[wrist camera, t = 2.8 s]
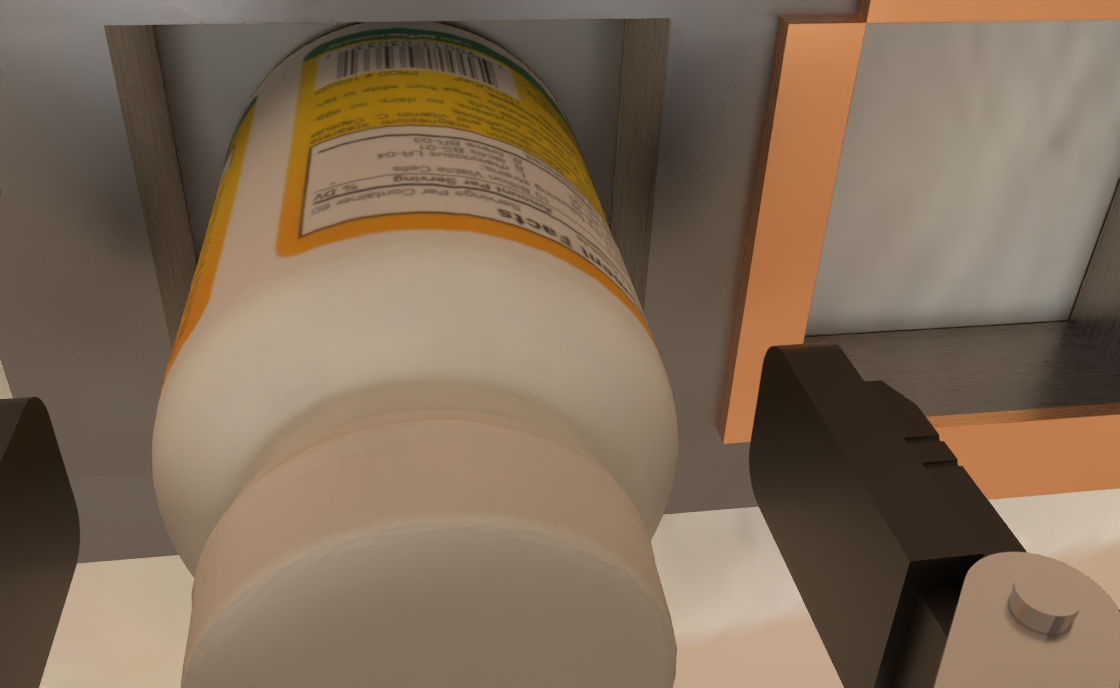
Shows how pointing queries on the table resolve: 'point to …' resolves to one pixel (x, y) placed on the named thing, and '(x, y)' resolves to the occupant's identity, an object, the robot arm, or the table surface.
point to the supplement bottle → (414, 390)
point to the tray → (637, 228)
